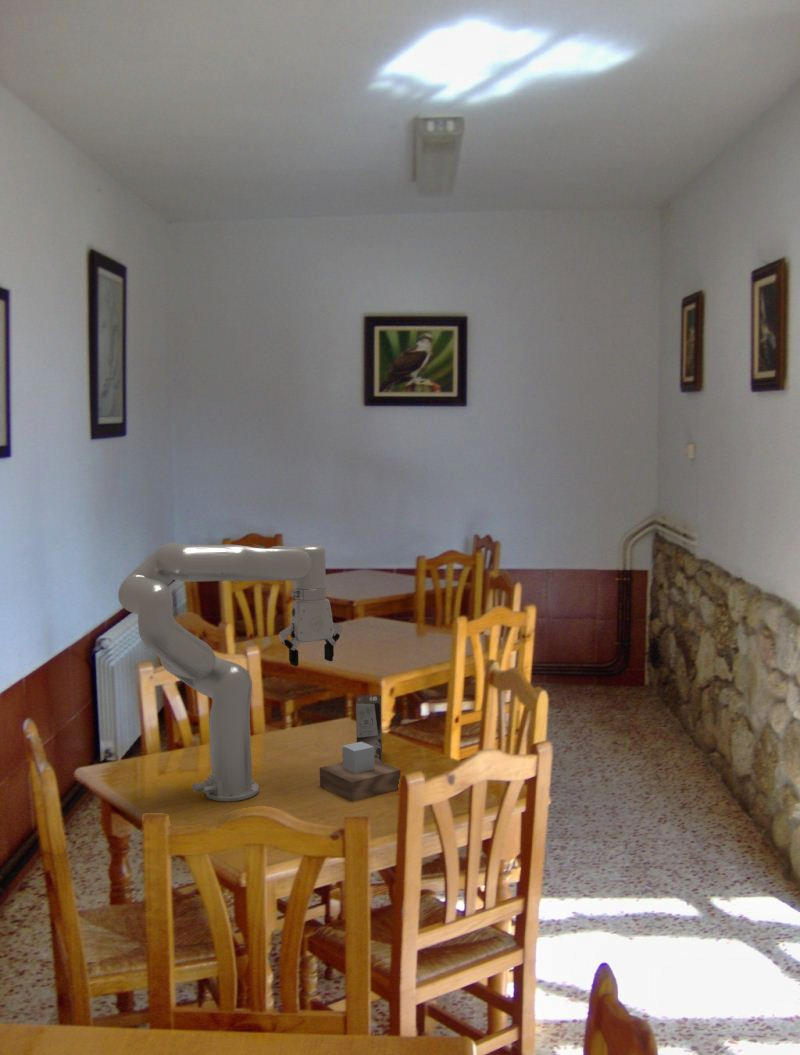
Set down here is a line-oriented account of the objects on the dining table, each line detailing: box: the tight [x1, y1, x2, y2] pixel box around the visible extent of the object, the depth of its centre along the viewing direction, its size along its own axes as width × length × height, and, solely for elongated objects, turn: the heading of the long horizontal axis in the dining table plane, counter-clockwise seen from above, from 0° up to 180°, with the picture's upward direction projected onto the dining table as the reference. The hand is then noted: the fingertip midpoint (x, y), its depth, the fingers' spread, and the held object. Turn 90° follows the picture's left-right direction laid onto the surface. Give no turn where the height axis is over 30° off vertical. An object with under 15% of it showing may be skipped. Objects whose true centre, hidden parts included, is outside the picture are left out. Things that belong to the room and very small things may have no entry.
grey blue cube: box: [341, 741, 375, 774], centre depth 256 cm, size 6×6×6 cm
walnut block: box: [319, 759, 402, 802], centre depth 257 cm, size 14×14×5 cm
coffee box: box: [355, 694, 383, 762], centre depth 277 cm, size 9×6×16 cm
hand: (311, 662), depth 266 cm, fingers open, 9 cm apart
